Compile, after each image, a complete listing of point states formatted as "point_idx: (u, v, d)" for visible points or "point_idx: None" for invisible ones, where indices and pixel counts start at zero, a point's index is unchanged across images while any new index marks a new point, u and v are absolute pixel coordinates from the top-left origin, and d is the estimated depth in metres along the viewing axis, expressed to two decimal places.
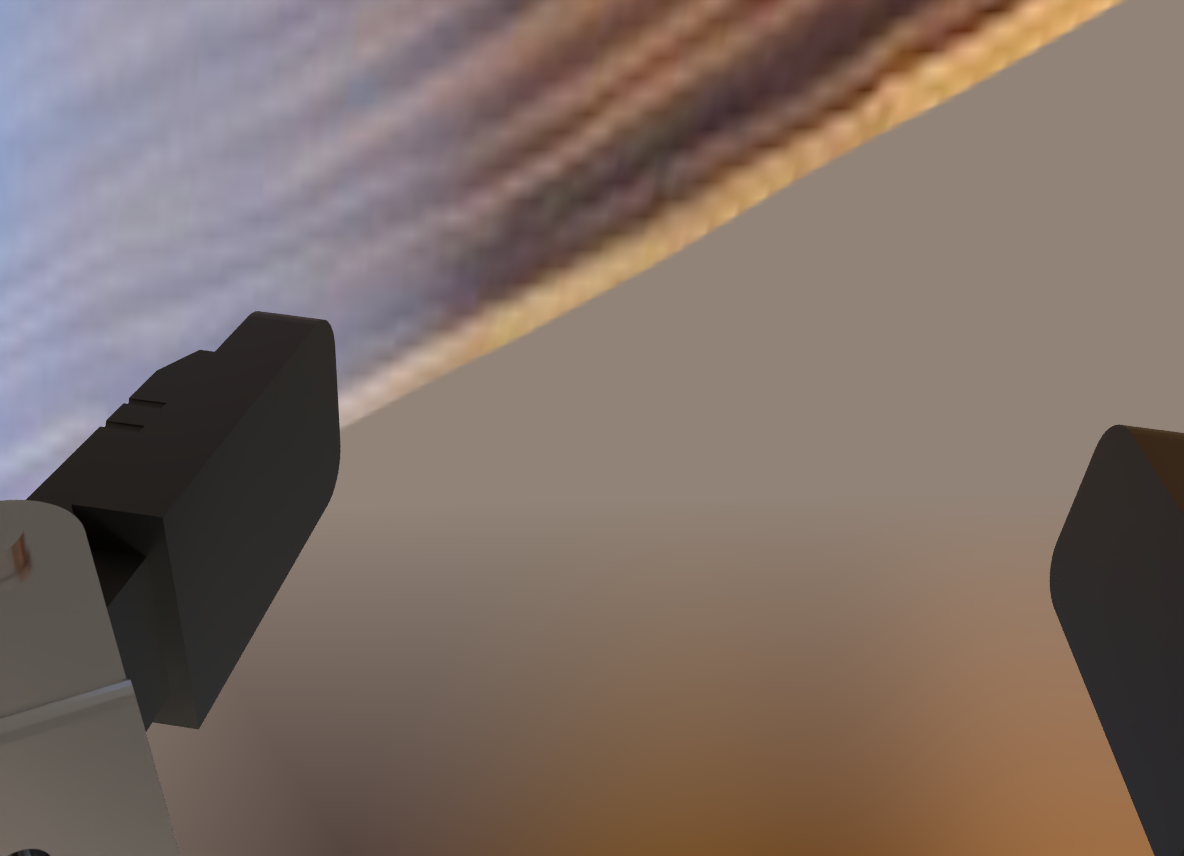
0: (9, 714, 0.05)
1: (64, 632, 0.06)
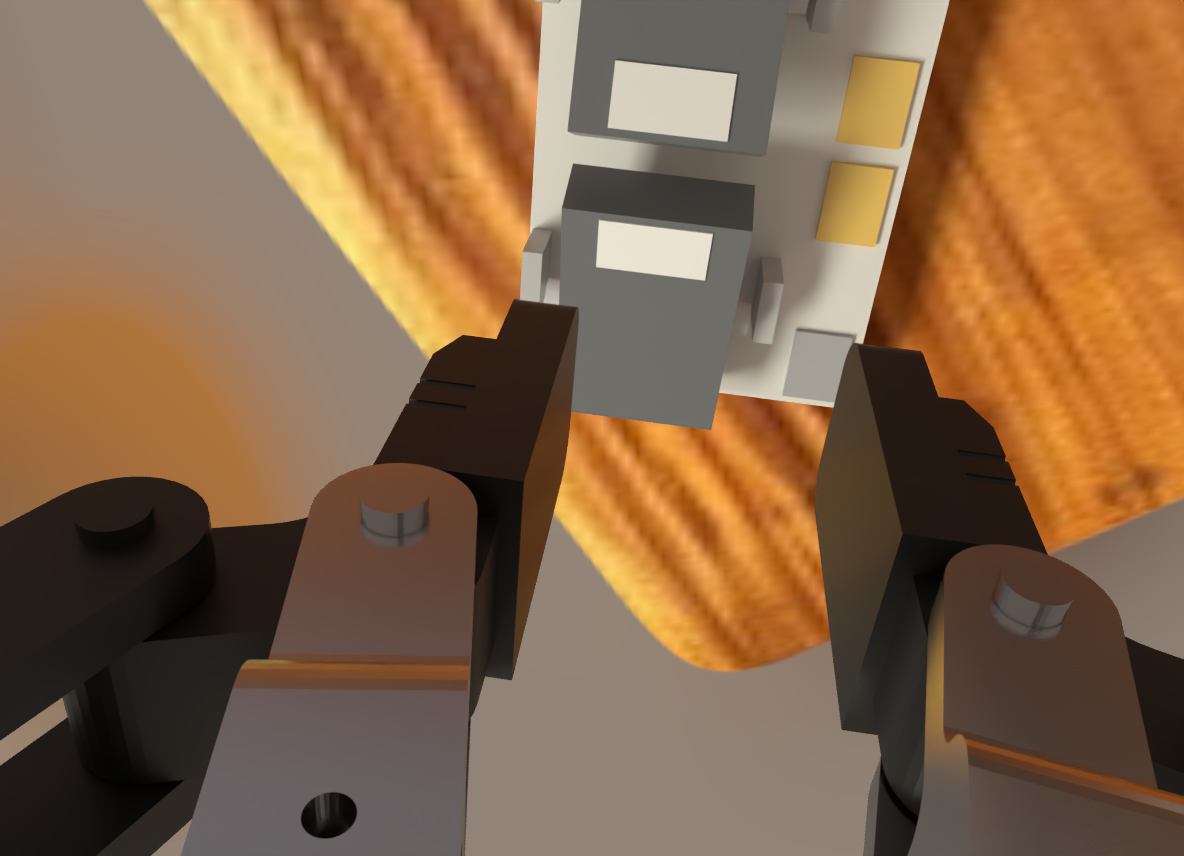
0: (366, 662, 0.06)
1: (434, 600, 0.07)
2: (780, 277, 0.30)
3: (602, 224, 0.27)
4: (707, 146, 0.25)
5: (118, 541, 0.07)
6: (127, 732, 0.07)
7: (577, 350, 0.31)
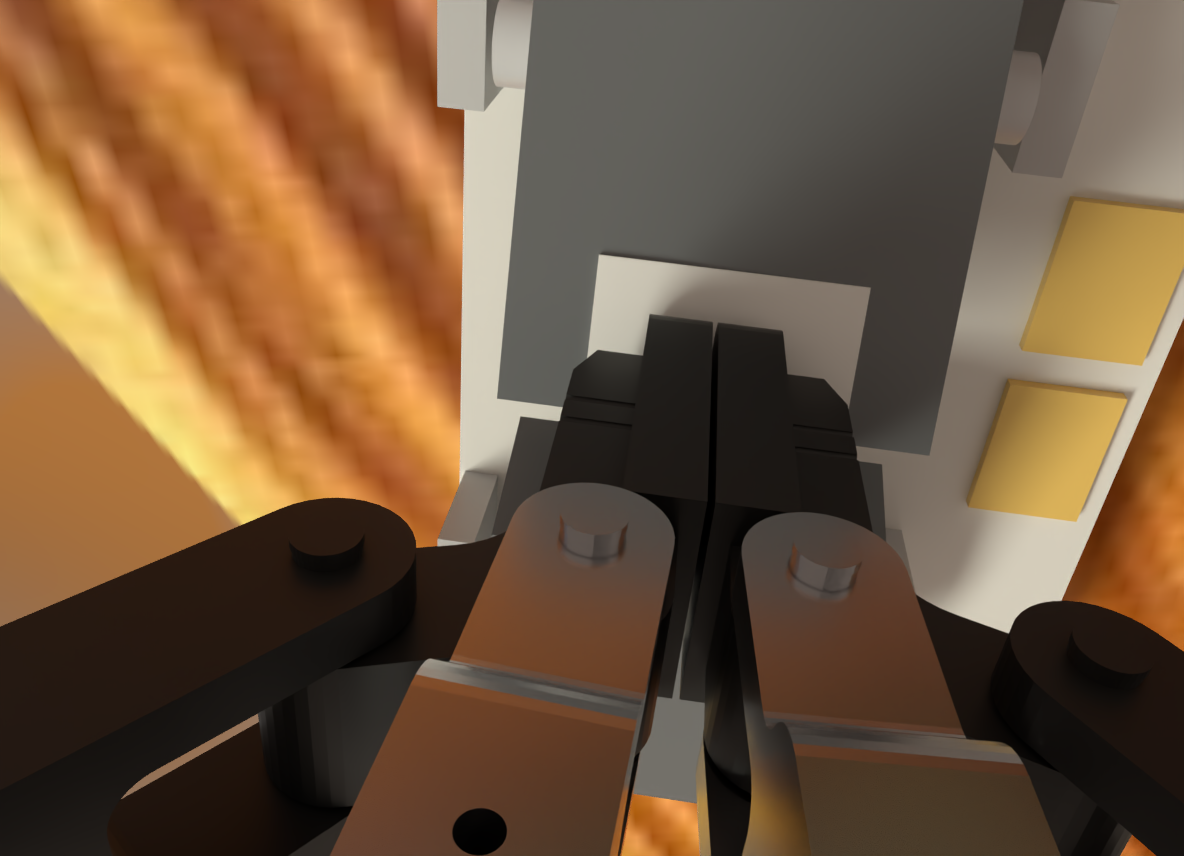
0: (540, 682, 0.06)
1: (617, 628, 0.07)
2: None
3: None
4: None
5: (334, 566, 0.07)
6: (310, 754, 0.07)
7: None
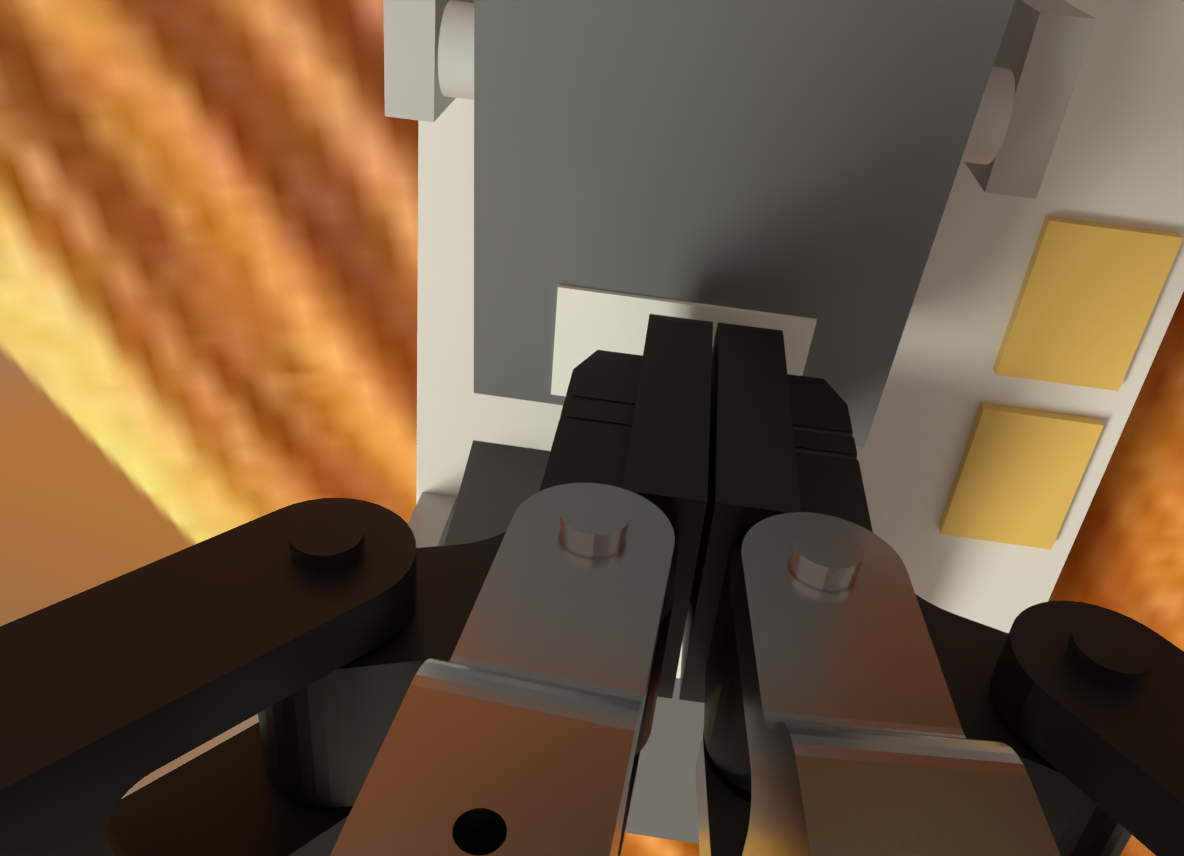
0: (540, 682, 0.06)
1: (617, 629, 0.07)
2: None
3: None
4: None
5: (334, 566, 0.07)
6: (310, 754, 0.07)
7: None
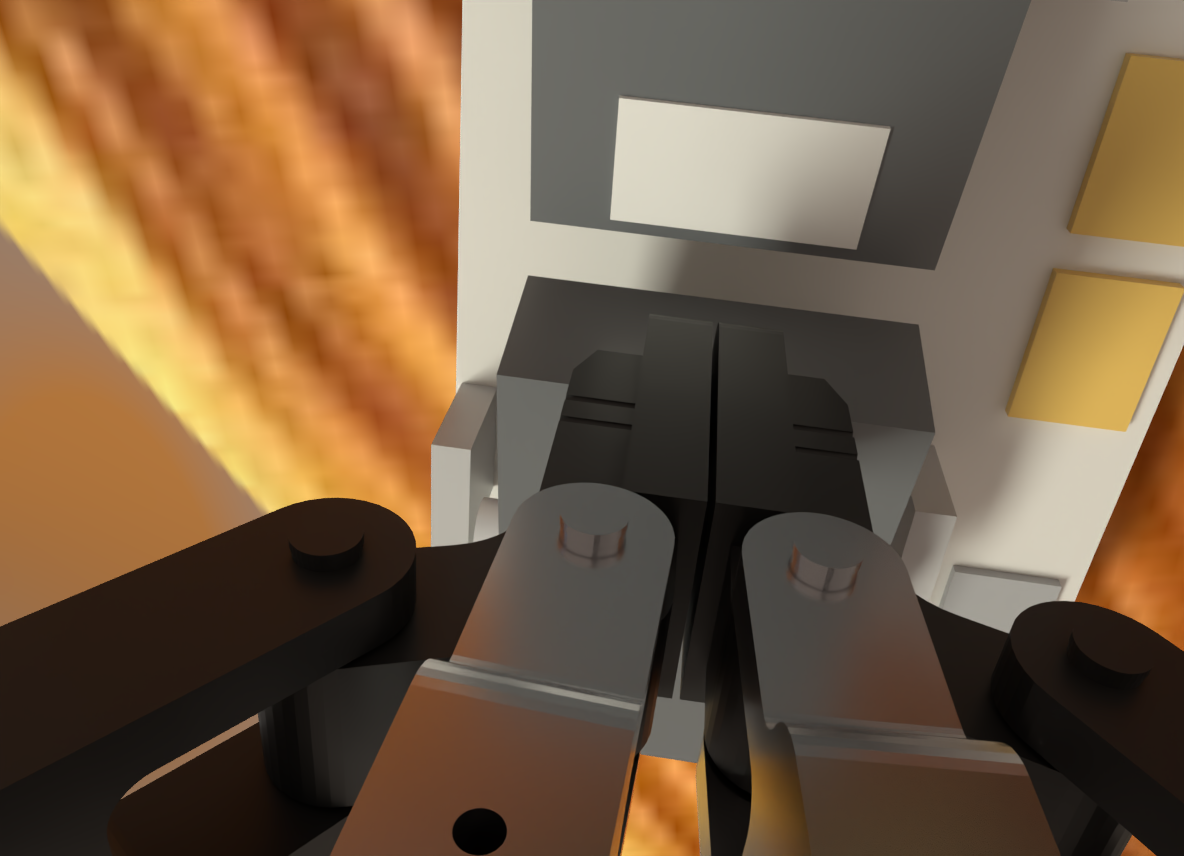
0: (540, 682, 0.06)
1: (617, 629, 0.07)
2: (946, 497, 0.15)
3: None
4: (814, 254, 0.12)
5: (334, 566, 0.07)
6: (309, 754, 0.07)
7: None
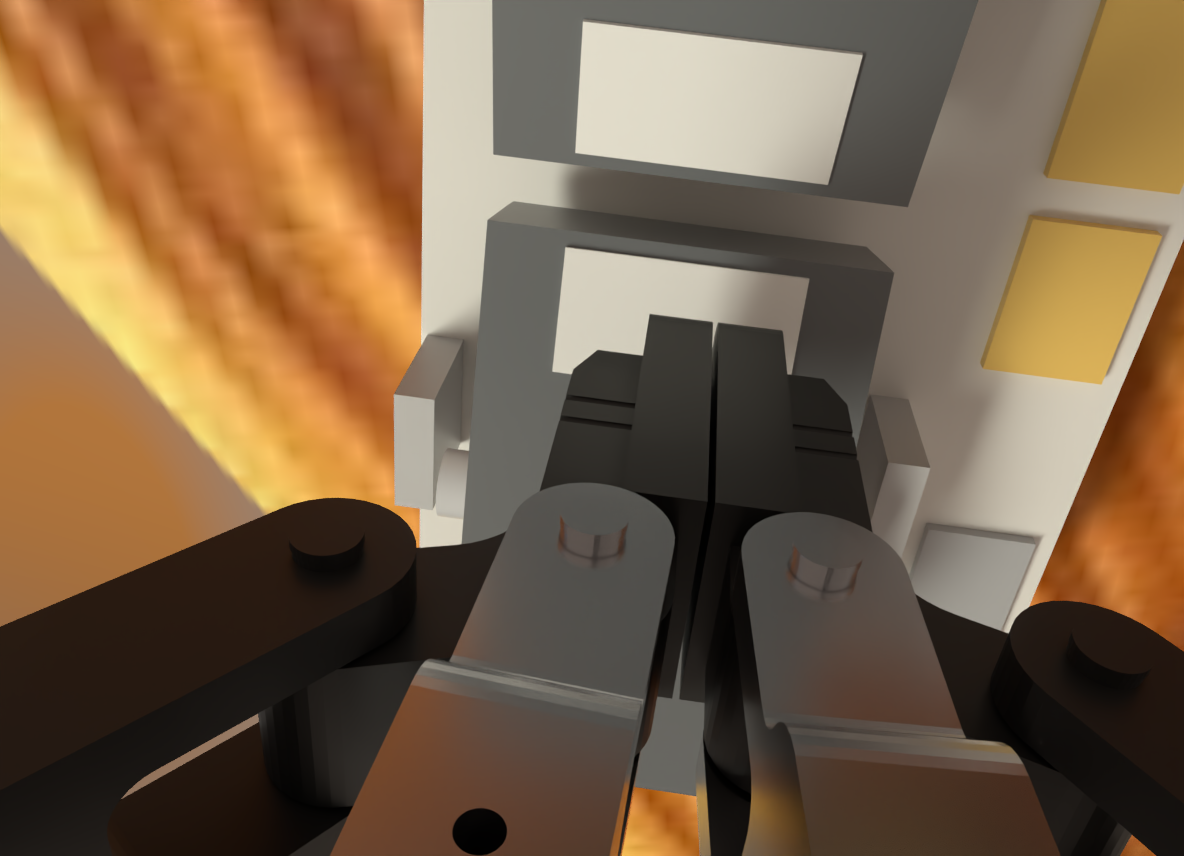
0: (540, 682, 0.06)
1: (617, 629, 0.07)
2: (919, 449, 0.15)
3: (573, 261, 0.13)
4: (784, 190, 0.12)
5: (335, 566, 0.07)
6: (310, 754, 0.07)
7: None
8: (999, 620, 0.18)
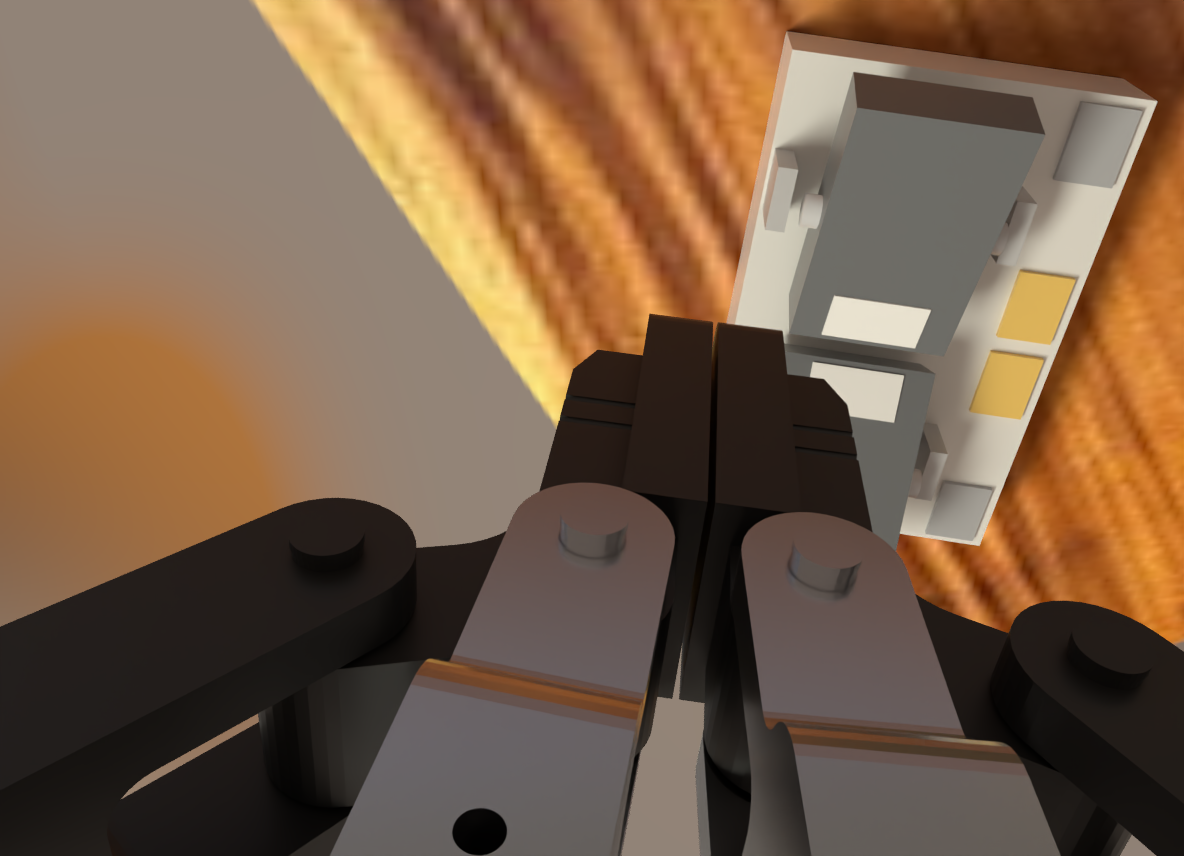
0: (540, 682, 0.06)
1: (618, 629, 0.07)
2: (943, 446, 0.36)
3: (815, 367, 0.34)
4: (898, 349, 0.33)
5: (334, 565, 0.07)
6: (310, 754, 0.07)
7: None
8: (975, 526, 0.39)
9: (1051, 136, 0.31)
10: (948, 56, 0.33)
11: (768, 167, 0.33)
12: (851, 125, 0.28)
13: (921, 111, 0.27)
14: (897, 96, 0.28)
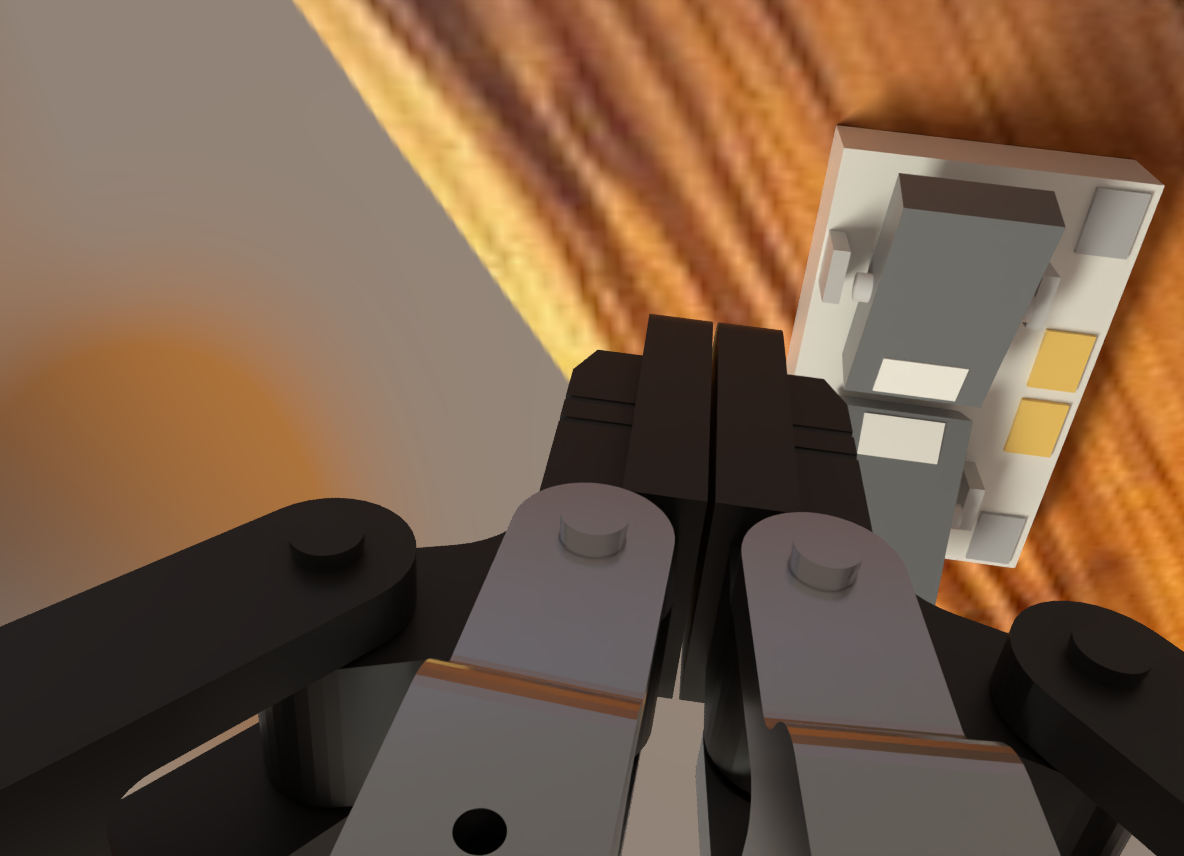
0: (540, 682, 0.06)
1: (617, 629, 0.07)
2: (980, 483, 0.40)
3: (866, 417, 0.38)
4: None
5: (334, 566, 0.07)
6: (310, 754, 0.07)
7: None
8: (1011, 551, 0.43)
9: (1071, 216, 0.36)
10: (979, 145, 0.38)
11: (823, 245, 0.38)
12: (898, 221, 0.32)
13: (959, 209, 0.32)
14: (937, 195, 0.32)
